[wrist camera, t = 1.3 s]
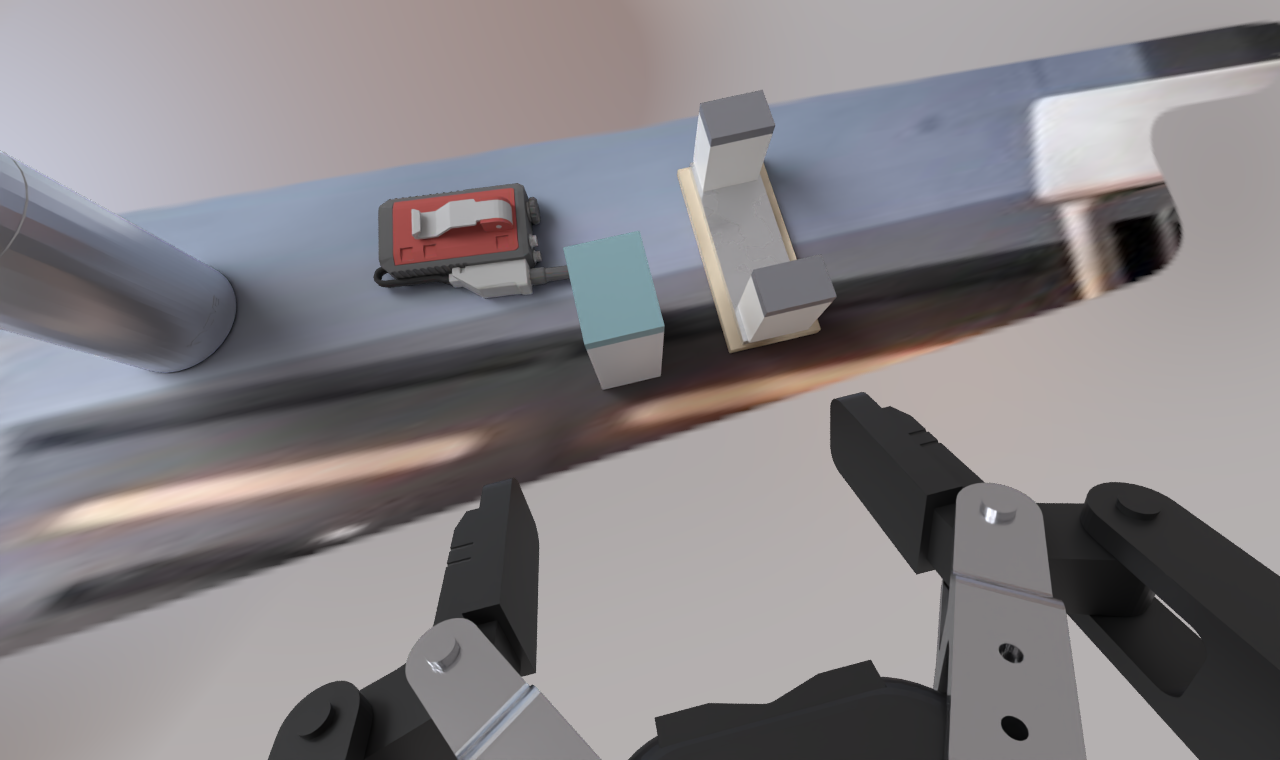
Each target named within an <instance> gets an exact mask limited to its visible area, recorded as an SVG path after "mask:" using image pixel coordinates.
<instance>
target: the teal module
mask: <svg viewBox="0 0 1280 760" xmlns="http://www.w3.org/2000/svg"><path fill="white" fill-rule="evenodd" d="M563 249H564V254H565V258H566V263H567V267H568V272H569V277H570V281H571V286H572V290H573V295H574V299H575V304H576V308H577V313H578V317H579V322H580V326H581V331H582V335H583V340H584V345H585V347H586V349H587V352H588V354H589V357H590V359H591V362H592V364H593V367H594V369H595V372H596V374H597V377H598V379H599V382H600V384H601V387H602V389H603V390H605V389H609V388H613V387H617V386H622V385H626V384H630V383H634V382H639V381H643V380H647V379H651V378H656V377H660V376H661V366H662V353H663V340H664V322H663V318H662V314H661V311H660V307H659V303H658V299H657V296H656V292H655V288H654V284H653V280H652V277H651V273H650V269H649V265H648V261H647V258H646V254H645V250H644V246H643V242H642V239H641V235H640V231H636V232H631V233H627V234H622V235H618V236H613V237H609V238H604V239H600V240H595V241H591V242H586V243H582V244H577V245H573V246H569V247H564V248H563Z"/></svg>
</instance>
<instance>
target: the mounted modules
mask: <svg viewBox="0 0 1280 760" xmlns="http://www.w3.org/2000/svg"><path fill="white" fill-rule="evenodd" d="M774 127H775V123H774V120H773V118H772V115H771V112H770V109H769V106H768V104H767V101H766V98H765V95H764V93H763V90H760V91H755V92H751V93H746V94H741V95H736V96H732V97H727V98H722V99H718V100H713V101H709V102H704V103H700V110H699V117H698V126H697V134H696V142H695V150H694V158H693V161H694V164H695V167H696V171H697V174H698V177H699V181H700V184H701V187H702V190H703V192H705V191H709V190H714V189H718V188H723V187H727V186H732V185H736V184H741V183H745V182H750V181H754V180H758V177H759V174H760V171H761V168H762V164H763V161H764V158H765V155H766V152H767V149H768V146H769V143H770V140H771V137H772V134H773V131H774ZM836 297H837V296H836V293H835V291H834V288H833V285H832V282H831V279H830V277H829V274H828V271H827V268H826V266H825V263H824V260H823V257H822V254H820V255H815V256H811V257H807V258H802V259H798V260H793V261H789V262H785V263H780V264H776V265H771V266H767V267H763V268H758V269H754V270H753V272H752V274H751V276H750V279H749V281H748V283H747V286H746V288H745V290H744V293H743V295H742V297H741V300H740V302H739V304H738V309H739V312H740V315H741V318H742V322H743V325H744V328H745V332H746V335H747V338H748V341H749V343H752V342H756V341H760V340H765V339H769V338H773V337H778V336H782V335H786V334H790V333H795V332H799V331H803V330H808V329H809V328H810V327H811V325H812V324H813V323H814V322H815V321H816V320H817V319H818V317H819V316H820V315H821V314H822V313H823V312H824V311H825V309H826V308H827V307H828V306H829V305H830V304H831V302H832V301H833V300H834V299H835V298H836Z"/></svg>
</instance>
